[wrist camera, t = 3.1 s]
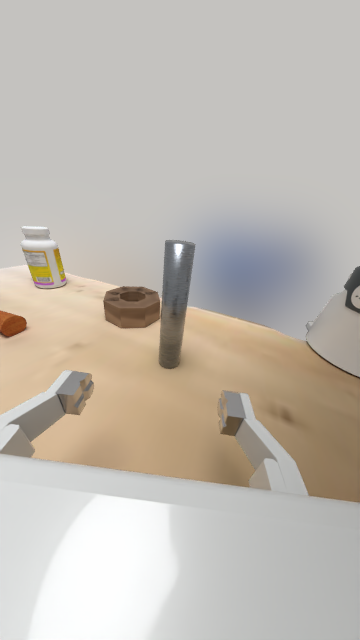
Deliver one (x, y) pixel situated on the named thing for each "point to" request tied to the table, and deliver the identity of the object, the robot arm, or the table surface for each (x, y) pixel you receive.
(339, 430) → the table surface
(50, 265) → the supplement bottle
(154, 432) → the table surface
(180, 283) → the grey metal peg
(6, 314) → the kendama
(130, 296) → the bead
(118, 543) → the robot arm
